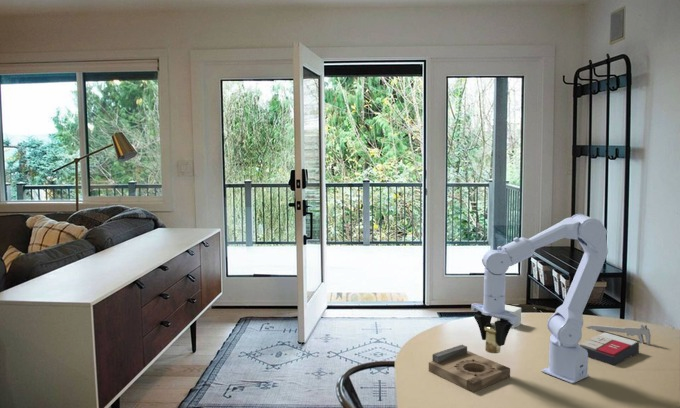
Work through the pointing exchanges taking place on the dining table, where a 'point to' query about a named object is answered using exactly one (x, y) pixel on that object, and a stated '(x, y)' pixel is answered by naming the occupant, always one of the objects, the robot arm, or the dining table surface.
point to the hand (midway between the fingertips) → (493, 342)
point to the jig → (467, 368)
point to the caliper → (626, 331)
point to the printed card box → (610, 348)
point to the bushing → (491, 338)
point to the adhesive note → (514, 311)
